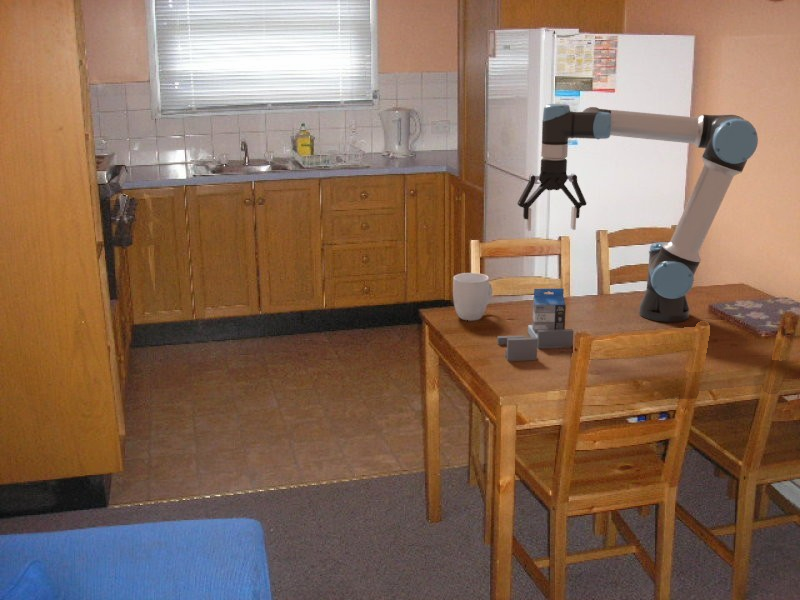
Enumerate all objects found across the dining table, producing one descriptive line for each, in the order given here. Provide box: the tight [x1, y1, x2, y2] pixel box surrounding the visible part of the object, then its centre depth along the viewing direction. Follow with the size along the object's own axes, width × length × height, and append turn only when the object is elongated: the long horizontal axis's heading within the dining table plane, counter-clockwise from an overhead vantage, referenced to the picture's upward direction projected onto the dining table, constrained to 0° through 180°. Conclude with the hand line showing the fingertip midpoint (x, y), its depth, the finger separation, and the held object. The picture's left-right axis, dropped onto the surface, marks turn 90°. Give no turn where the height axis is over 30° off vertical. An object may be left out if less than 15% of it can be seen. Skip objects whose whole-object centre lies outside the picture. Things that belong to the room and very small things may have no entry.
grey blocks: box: [496, 334, 538, 362], centre depth 252 cm, size 8×15×6 cm, turn 5°
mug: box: [452, 272, 493, 322], centre depth 282 cm, size 15×11×13 cm
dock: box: [527, 324, 574, 350], centre depth 261 cm, size 10×14×5 cm
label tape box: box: [531, 287, 567, 333], centre depth 260 cm, size 9×4×12 cm, turn 92°
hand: (550, 229), depth 271 cm, fingers open, 13 cm apart
